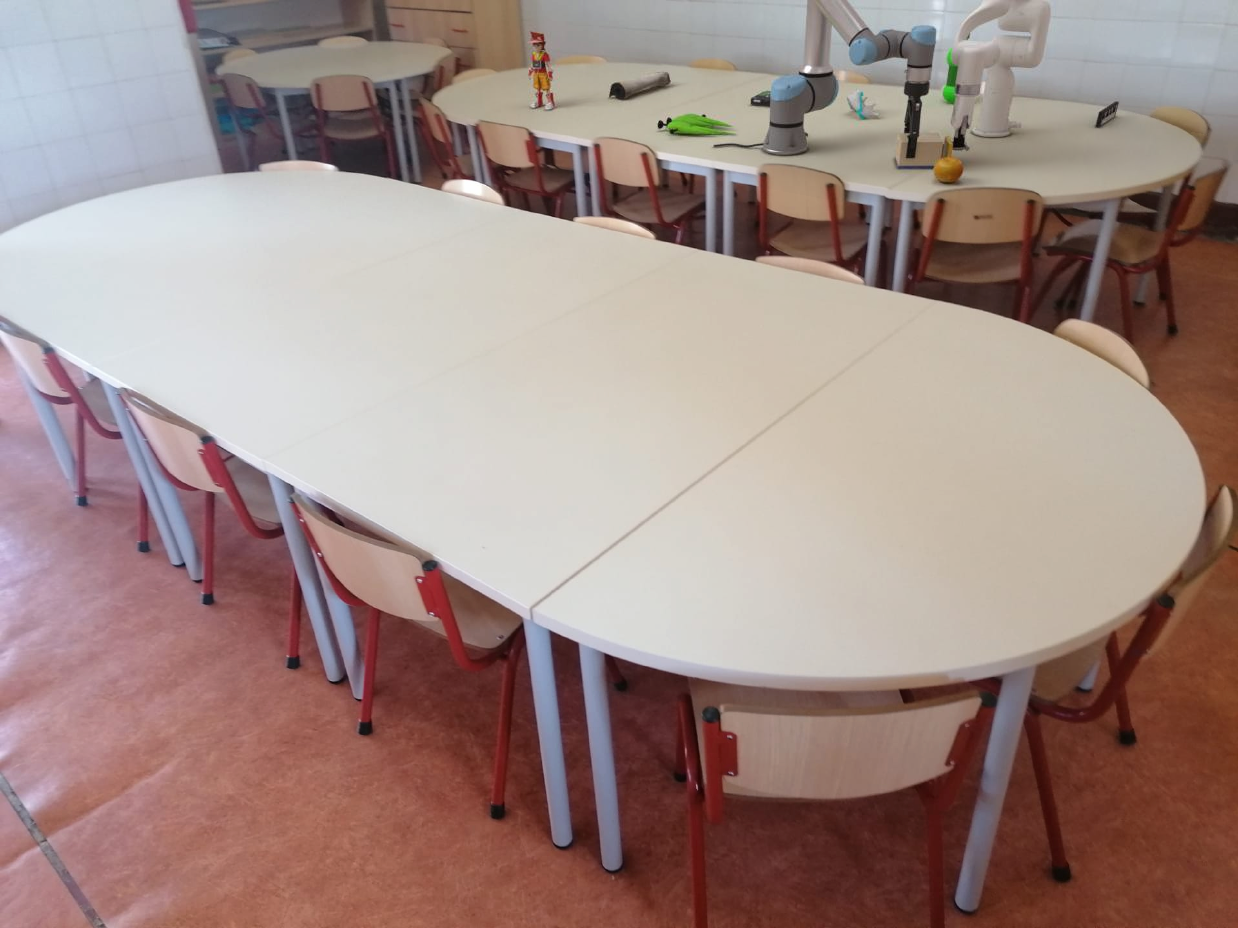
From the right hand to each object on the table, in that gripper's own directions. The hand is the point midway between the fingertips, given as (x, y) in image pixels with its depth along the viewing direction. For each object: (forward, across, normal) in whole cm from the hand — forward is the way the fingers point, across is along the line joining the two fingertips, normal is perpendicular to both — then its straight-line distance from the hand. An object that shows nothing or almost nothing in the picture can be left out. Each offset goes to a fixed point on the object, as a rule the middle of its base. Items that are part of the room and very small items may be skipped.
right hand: (957, 149), depth 289 cm
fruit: (+5, +18, -5) cm, 20 cm away
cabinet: (+4, 0, -12) cm, 13 cm away
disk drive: (+4, -86, -62) cm, 106 cm away
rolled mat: (+4, -108, -119) cm, 160 cm away
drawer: (+4, 0, -6) cm, 7 cm away
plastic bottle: (+4, -81, +11) cm, 82 cm away
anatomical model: (+4, -63, -26) cm, 68 cm away
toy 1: (+4, -82, -158) cm, 178 cm away
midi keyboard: (+4, -49, +58) cm, 76 cm away
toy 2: (+4, -42, -87) cm, 97 cm away
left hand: (+1, 0, -15) cm, 15 cm away
